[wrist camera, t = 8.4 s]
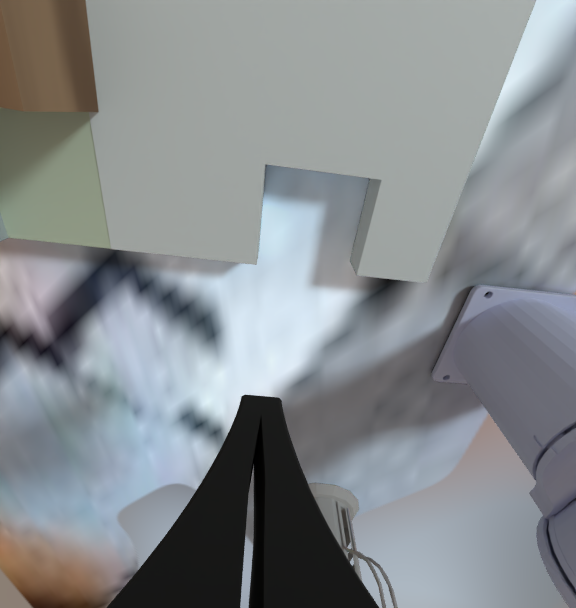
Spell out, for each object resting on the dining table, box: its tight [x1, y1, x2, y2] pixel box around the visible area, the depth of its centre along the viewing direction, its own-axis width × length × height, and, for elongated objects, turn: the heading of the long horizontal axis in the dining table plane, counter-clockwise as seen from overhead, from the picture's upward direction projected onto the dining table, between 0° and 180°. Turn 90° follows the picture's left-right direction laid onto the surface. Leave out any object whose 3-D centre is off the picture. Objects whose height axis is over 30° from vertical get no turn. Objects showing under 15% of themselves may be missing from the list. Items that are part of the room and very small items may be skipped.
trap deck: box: [0, 0, 536, 283], centre depth 12 cm, size 23×17×4 cm
